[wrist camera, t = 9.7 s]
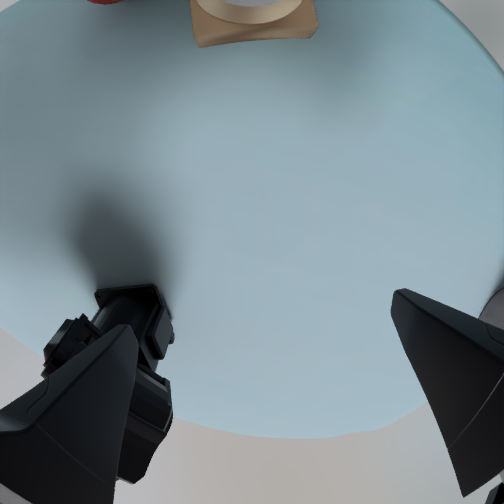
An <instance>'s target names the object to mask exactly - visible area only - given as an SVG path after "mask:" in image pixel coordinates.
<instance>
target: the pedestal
mask: <svg viewBox="0 0 504 504" xmlns="http://www.w3.org/2000/svg"><path fill="white" fill-rule="evenodd" d="M190 7H191V16H192V25H193V34H194V38H195V40H196V42H197V44H198V46H199V48H202V47H208V46H213V45H220V44H226V43H234V42H242V41H252V40H264V39H282V38H311V36H312V35H313V34H314V32H315V31H316V30H317V28H318V27H319V26H318V21H317V17H316V13H315V8H314V4H313V0H281V1H279V2H277V3H274V4H270V5H265V6H256V7H247V6H238V5H233V4H229V3H226V2H223V1H221V0H190Z"/></svg>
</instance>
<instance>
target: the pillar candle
mask: <svg viewBox="0 0 504 504" xmlns="http://www.w3.org/2000/svg"><path fill="white" fill-rule="evenodd" d="M479 319H480V320H482V321H484V322H487V323H489V324H491V325H493V326H496V327H498V328H501V329H503V330H504V288H503V289H501V290H500V291H499V292H498V293H497V294H496V295H495V296H494V297H493V298H492V299H491V300H490V301H489V303H488V304H487V305H486V307H485V308H484V310H483V312H482V313H481V315H480V317H479Z"/></svg>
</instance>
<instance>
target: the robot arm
mask: <svg viewBox="0 0 504 504" xmlns="http://www.w3.org/2000/svg"><path fill="white" fill-rule="evenodd" d="M149 289H152V290H153V292H152V291H150V290H149ZM99 294H100V295H101V296H99ZM94 296H95V298H96V301H97V303H98V305H99V308H100V309H99V310H98V312H97V313H96V314H95V316H94V317H93V319H92V320H91V322H90V321H89V320H88V317H87V316H86V315H84V314H83V313H82V315H81V316H80V317H79V319H78V318H75V319H74V320H70V319H66V320H65V322H64V323H63V324H62V326H61V327H60V328H59V330H58V331H57V332H56V334H55V335H54V336H53V337H52V339H51V340H50V341H49V342H48V344H47V345H46V347H45V348H44V350H43V351H44V357H45V363H44V364H43V366H44V367H45V368H44V370H43V372H42V373H41V376H42V377H43V378H44V380H43V381H42V382H40V383H39V384H38V385H36V386H35V387H34V388H32V389H31V390H29V391H28V392H26V393H25V394H23V395H22V396H20V397H19V398H17V399H16V400H14V401H13V402H11V403H10V404H8V405H7V406H5V407H4V408H2V409H1V410H0V504H113V500H114V492H115V489H114V488H115V483H116V481H117V480H119V479H120V480H123V481H125V482H127V483H129V484H135V483H136V482H137V481H139V480H140V479H141V478H142V477H144V475H145V473H146V471H147V468H148V466H149V463H150V461H151V458H152V456H153V454H154V452H155V451H156V449H157V447H158V446H159V444H160V443H161V442H162V441H163V439H164V438H165V437H166V435H167V433H168V431H169V429H170V426H171V423H172V419H173V410H172V400H171V389H170V381H169V380H167V379H166V378H162V377H161V376H159V375H158V374H156V373H155V371H156V368H157V364H158V361H159V360H163V359H164V357H165V354H166V351H167V347H168V344H173V342H174V339H175V338H174V335H173V332H172V331H173V327H172V324H171V321H170V318H169V316H168V313H167V310H166V307H165V306H164V305H162V302H161V299H160V296H159V293H158V290H157V287H156V286H155V285H153V284H145V285H136V286H126V287H117V288H107V289H98V290H97V291H96V292H95V293H94ZM391 317H392V319H393V322H394V324H395V327H396V330H397V332H398V335H399V337H400V340H401V343H402V345H403V348H404V350H405V353H406V355H407V357H408V359H409V361H410V363H411V365H412V367H413V369H414V371H415V373H416V375H417V378H418V380H419V382H420V384H421V386H422V388H423V391H424V393H425V395H426V397H427V400H428V402H429V404H430V406H431V409H432V411H433V414H434V416H435V418H436V421H437V423H438V426H439V428H440V431H441V434H442V436H443V439H444V441H445V444H446V447H447V448H448V453H449V455H450V458H451V461H452V464H453V467H454V470H455V473H456V477H457V480H458V483H459V486H460V490H461V493H462V496H463V497H466V496H467V495H469V494H470V493H472V492H474V491H475V490H477V489H478V488H480V487H481V486H483V485H484V484H485V483H487V482H488V481H490V480H491V479H492V478H494V477H495V476H497V475H498V474H500V477H501V479H502V482H501V483H500V484H498V485H497V486H496V487H494V488H493V489H492V490H491V491H490V492H489V495H488V498H487V500H486V503H485V504H504V330H503V329H501V328H498V327H496V326H493V325H491V324H489V323H487V322H484V321H482V320H480V319H477V318H475V317H473V316H471V315H468V314H466V313H464V312H461V311H459V310H457V309H454V308H452V307H449V306H447V305H445V304H442V303H440V302H438V301H435V300H433V299H430V298H428V297H426V296H423V295H421V294H418V293H416V292H413V291H411V290H409V289H406V288H403V289H399V290H396V291H394V294H393V299H392V305H391ZM170 339H171V340H170Z"/></svg>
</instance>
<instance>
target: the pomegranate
mask: <svg viewBox="0 0 504 504" xmlns="http://www.w3.org/2000/svg"><path fill="white" fill-rule="evenodd" d="M87 1H90V2H92V3H97V4H104V5H105V4H113V3H117V2H121V1H124V0H87Z"/></svg>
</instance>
